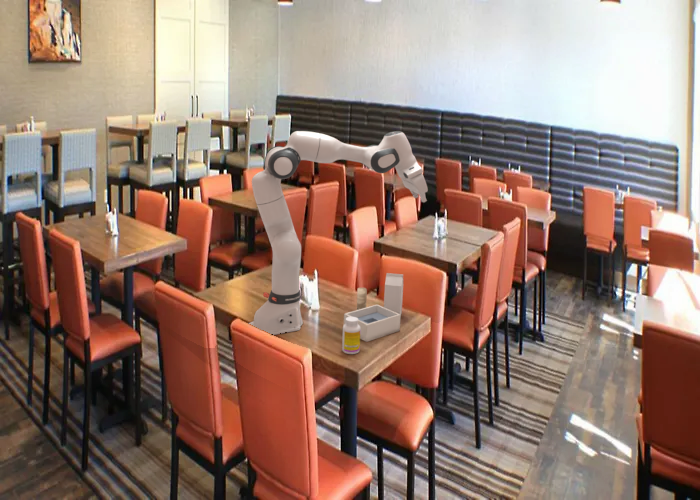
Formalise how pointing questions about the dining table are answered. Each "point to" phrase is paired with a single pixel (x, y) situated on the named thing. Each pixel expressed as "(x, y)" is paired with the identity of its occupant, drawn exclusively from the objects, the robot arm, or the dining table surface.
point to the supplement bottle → (351, 336)
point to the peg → (361, 298)
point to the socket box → (375, 321)
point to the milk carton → (393, 292)
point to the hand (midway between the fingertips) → (420, 199)
